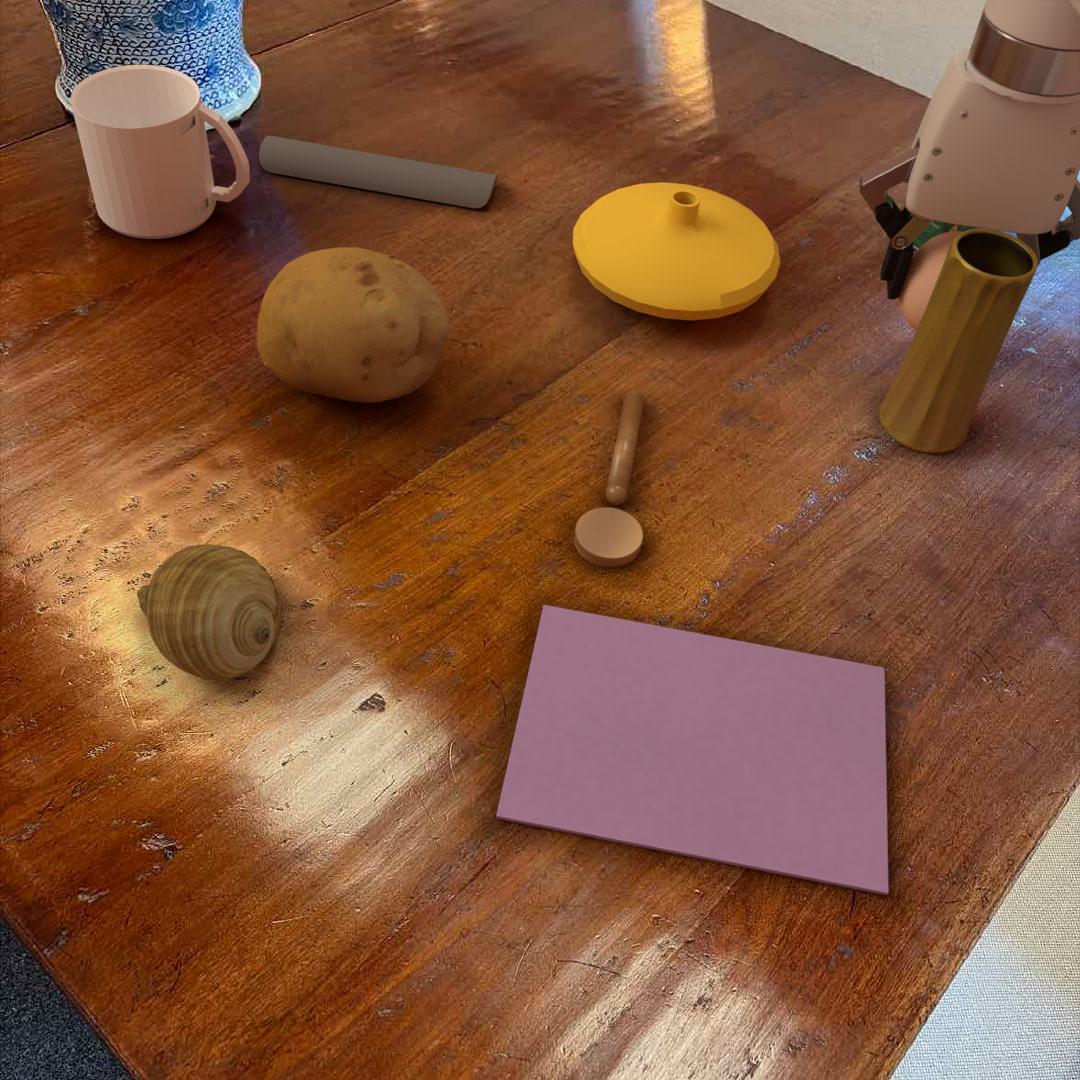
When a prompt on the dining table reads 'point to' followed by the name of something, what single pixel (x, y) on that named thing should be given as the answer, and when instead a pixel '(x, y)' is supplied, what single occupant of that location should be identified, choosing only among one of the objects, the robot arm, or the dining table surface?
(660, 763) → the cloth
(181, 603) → the seashell
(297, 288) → the potato
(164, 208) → the mug
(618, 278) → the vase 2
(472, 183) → the half round rod
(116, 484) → the dining table surface
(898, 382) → the vase
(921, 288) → the egg
